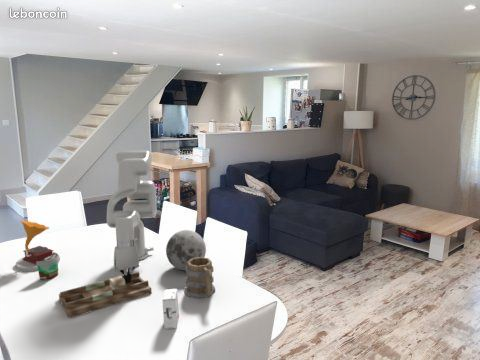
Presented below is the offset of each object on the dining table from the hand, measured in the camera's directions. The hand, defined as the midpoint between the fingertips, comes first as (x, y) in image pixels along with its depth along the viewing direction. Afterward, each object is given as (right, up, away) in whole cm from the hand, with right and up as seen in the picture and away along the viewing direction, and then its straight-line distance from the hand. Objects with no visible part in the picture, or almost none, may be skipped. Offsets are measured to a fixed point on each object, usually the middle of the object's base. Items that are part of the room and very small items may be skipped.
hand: (127, 282), depth 164 cm
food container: (-41, -1, +14) cm, 43 cm away
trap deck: (-8, -5, -5) cm, 10 cm away
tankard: (+34, -5, -3) cm, 34 cm away
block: (-4, -2, -2) cm, 5 cm away
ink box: (+24, -9, -25) cm, 36 cm away
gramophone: (-56, +2, +30) cm, 64 cm away
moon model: (+23, 0, +24) cm, 33 cm away
